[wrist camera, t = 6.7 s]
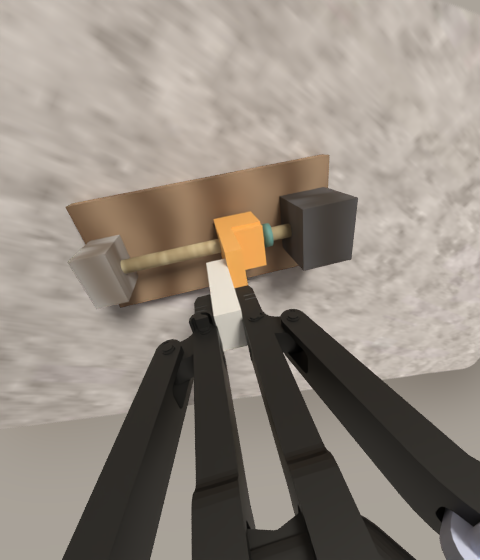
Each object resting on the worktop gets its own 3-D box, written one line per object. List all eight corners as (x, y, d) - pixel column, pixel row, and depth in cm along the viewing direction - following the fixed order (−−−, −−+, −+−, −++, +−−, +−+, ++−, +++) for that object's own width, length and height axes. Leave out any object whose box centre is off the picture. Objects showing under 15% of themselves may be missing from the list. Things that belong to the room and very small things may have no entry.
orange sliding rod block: (222, 259, 27) (236, 309, 18) (212, 216, 24) (224, 252, 16) (255, 251, 27) (284, 297, 19) (250, 208, 24) (280, 240, 16)
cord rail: (123, 300, 29) (104, 344, 23) (72, 203, 23) (26, 226, 16) (319, 254, 31) (352, 283, 25) (322, 154, 25) (368, 157, 18)
